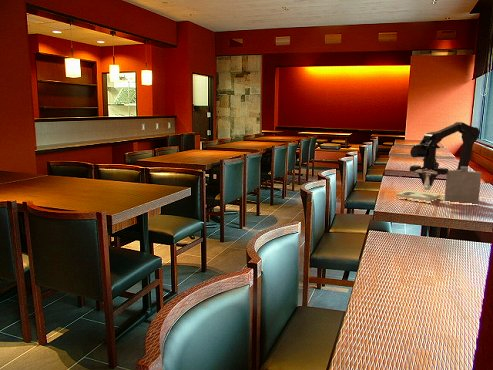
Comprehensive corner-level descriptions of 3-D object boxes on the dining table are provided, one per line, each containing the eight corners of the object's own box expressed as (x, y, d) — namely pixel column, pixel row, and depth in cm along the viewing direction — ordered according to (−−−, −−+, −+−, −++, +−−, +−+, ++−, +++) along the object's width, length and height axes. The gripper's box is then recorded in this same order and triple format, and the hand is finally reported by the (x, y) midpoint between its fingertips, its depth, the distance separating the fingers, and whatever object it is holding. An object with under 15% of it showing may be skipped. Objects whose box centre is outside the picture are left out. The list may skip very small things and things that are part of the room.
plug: (431, 189, 228) (432, 174, 227) (429, 190, 226) (430, 175, 224) (425, 188, 230) (426, 174, 229) (422, 189, 228) (423, 174, 227)
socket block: (439, 200, 231) (440, 194, 230) (429, 204, 221) (429, 197, 220) (407, 195, 243) (407, 189, 243) (396, 198, 234) (396, 193, 233)
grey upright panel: (477, 205, 219) (481, 167, 216) (478, 206, 216) (482, 168, 212) (444, 202, 226) (447, 165, 222) (444, 203, 222) (447, 166, 218)
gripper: (453, 157, 224) (450, 185, 227) (418, 154, 237) (416, 181, 240) (445, 158, 216) (443, 188, 219) (410, 156, 229) (408, 184, 232)
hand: (427, 185), depth 228 cm, fingers closed on plug, 3 cm apart
